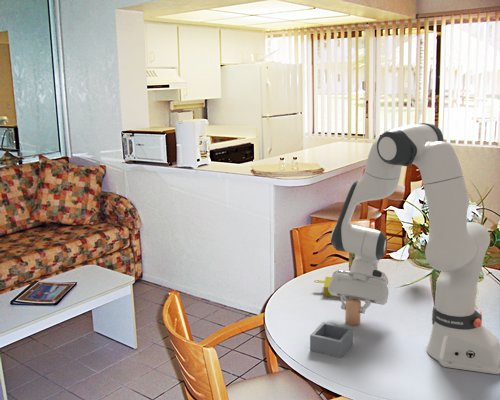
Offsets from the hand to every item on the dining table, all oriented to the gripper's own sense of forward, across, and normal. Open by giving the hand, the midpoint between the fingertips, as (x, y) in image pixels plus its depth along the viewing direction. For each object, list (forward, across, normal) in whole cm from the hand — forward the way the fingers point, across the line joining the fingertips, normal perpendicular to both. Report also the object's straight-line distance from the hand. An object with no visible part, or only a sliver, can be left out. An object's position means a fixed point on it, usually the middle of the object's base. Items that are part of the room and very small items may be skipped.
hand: (352, 310), depth 184 cm
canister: (+3, 0, +4) cm, 4 cm away
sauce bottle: (-30, -15, +36) cm, 49 cm away
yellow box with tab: (-13, -16, +20) cm, 28 cm away
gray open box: (+16, 0, -10) cm, 19 cm away
